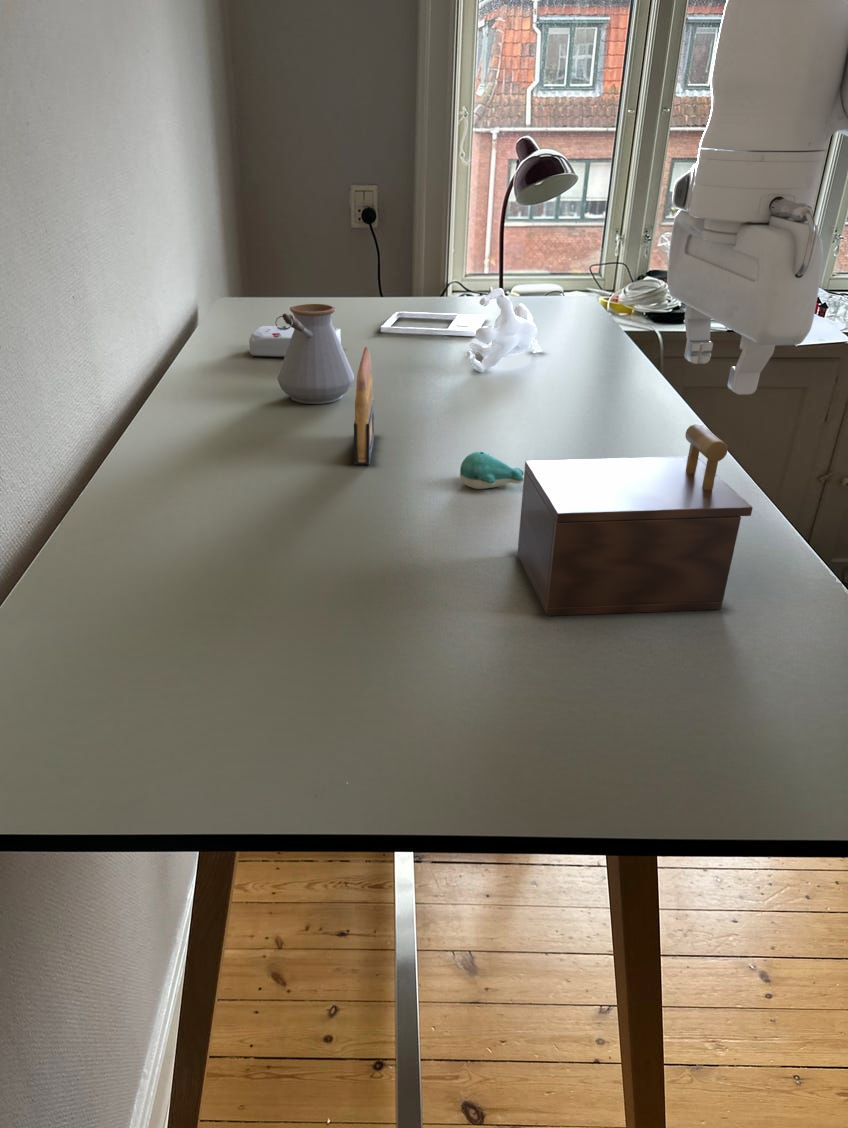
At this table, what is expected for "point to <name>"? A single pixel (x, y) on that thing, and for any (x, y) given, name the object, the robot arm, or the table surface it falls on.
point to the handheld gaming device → (273, 341)
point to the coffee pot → (314, 357)
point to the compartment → (624, 561)
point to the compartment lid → (640, 485)
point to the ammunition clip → (364, 412)
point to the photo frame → (459, 326)
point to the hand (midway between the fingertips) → (717, 376)
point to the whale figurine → (487, 471)
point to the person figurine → (504, 333)
